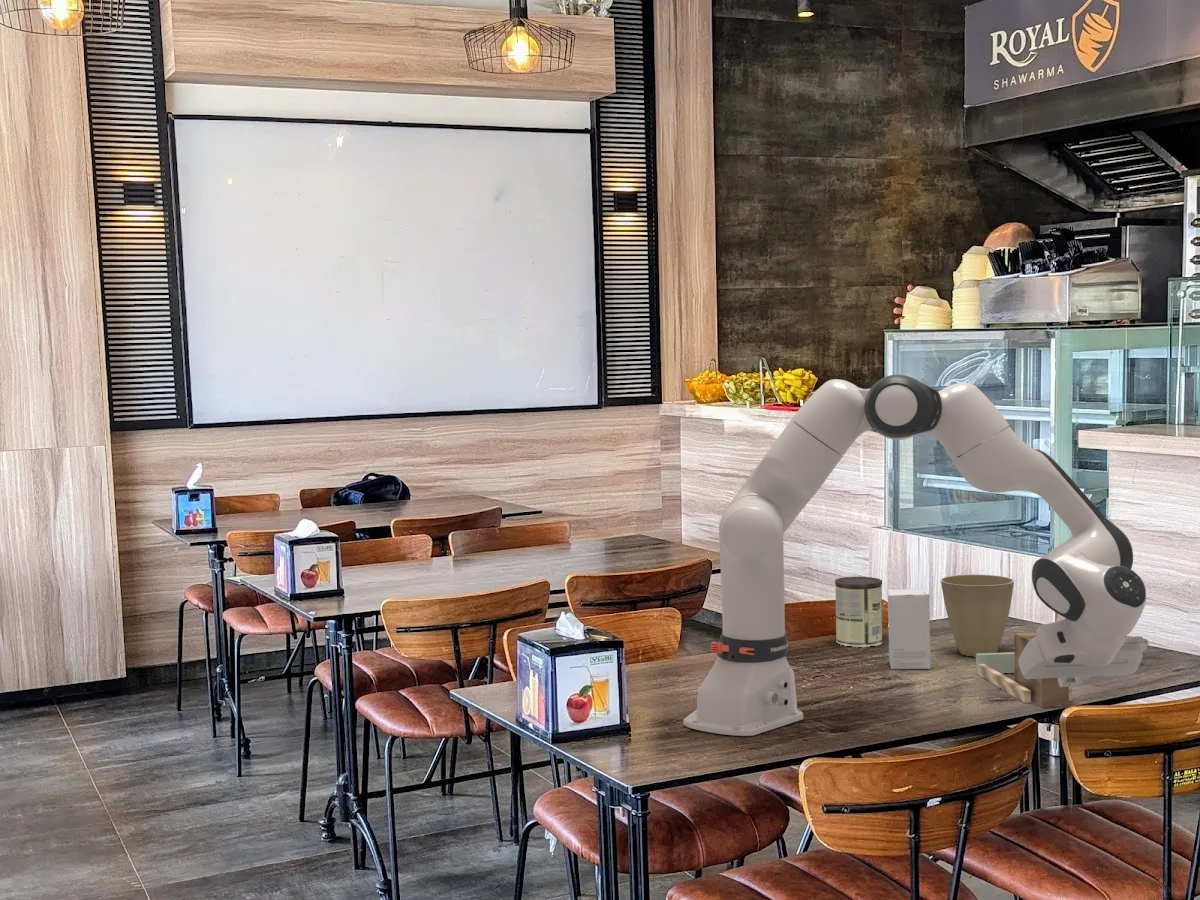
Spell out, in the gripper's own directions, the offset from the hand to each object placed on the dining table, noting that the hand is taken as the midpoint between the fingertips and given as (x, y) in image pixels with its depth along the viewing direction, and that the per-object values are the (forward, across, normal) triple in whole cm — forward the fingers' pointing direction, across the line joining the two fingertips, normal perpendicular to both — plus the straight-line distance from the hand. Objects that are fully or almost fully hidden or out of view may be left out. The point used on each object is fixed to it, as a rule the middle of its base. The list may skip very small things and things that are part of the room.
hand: (1066, 683), depth 228 cm
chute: (+17, 0, -9) cm, 19 cm away
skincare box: (+31, +15, -24) cm, 42 cm away
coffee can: (+48, +19, -40) cm, 66 cm away
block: (+11, 0, -4) cm, 12 cm away
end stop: (+25, 0, -18) cm, 30 cm away
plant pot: (+37, -2, -30) cm, 48 cm away
